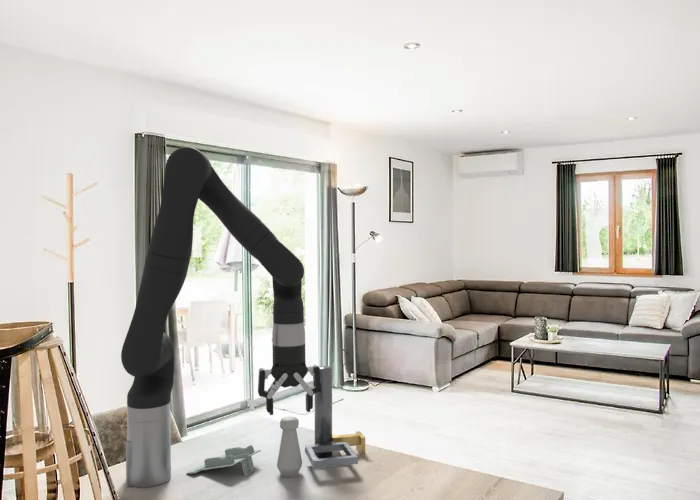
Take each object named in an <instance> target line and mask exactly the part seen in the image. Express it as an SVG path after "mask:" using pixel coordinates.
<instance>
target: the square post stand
mask: <svg viewBox="0 0 700 500" xmlns="http://www.w3.org/2000/svg"><path fill="white" fill-rule="evenodd" d="M317 366H318V367H319V369H320V383H321V391H320V392H317V393H315V394H314V444H309V445H304V446H305V447H304V452H305V455H306V456H307V458H308V460H309V462H310V464H311V466H312V469H320V468H321V469H322V468H329V467H330V468H331V467H338V466H339V467H340V466H349V465H357V464H359V456H358V455H357V454H356V452H355V451H354V449H353V448H352V447H354V446H355V449H356V450H357V451H358V452H359V454H360V456H365V455H366V436H365V435H364V434H363V433H362V431H360V430H358V431H355V433H350V434H347V433H346V434H339V435H333V367H332V366H329V365H317ZM341 451H342V452H343V453H345V455H344V456H343V454H342V453H341Z"/></svg>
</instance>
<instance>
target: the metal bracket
mask: <svg viewBox="0 0 700 500" xmlns="http://www.w3.org/2000/svg"><path fill="white" fill-rule="evenodd" d="M261 451H262V450H261V449H257V450H255V449H254V446H253V445H252V444H250V445H248V446H246V447H239V446H236V447H230V448H226V449H225V450H224V454H223V455H221V456H216V457H215V456H214V457H209V458H205V459H204V461H203V462H204V463H203V464H202V465H200V466H197V467H196V468H193V469H191V470H190V471H187V472H186V473H185V475H187V476H188V475H193V474H197V473H199V472H201V471H207V470H213V469H220V468H229V467H233V466H234V465H237V464H238V463H241V467H242V471H243V475H244V477H245V476H247V475H248V474H250V473H253V472H254V471H255V466H254V462H253V457H252V456H254V455H255V454H258V453H260V452H261Z"/></svg>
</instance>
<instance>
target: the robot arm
mask: <svg viewBox="0 0 700 500" xmlns="http://www.w3.org/2000/svg"><path fill="white" fill-rule="evenodd" d="M163 176H164V178H163V185H162V194H161V199H160V200H161V201H160V202H161V203H160V207H159V209H158V214H157V217H156V220H155V223H154V227H153V230H152V233H151V236H150V242H149V245H148V248H147V253H146V256H145V261H144V264H143V265H144V266H143V272H142V276H141V280H140V285H139V289H138V294H137V297H136V304H135V309H134V312H133V316H132V318H131V322H130V324H129V326H128V330H127V333H126V335H125V338H124V341H123V344H122V348H121V354H120V360H121V363H122V367H123V368H124V371H125V372H127V374H129V376H131V377H133V378H134V379H133V382H132V384H131V387H130V388H129V390H128V392H127V396H126V400H127V401H126V406H127V407H126V411H127V413H126V417H127V418H126V422H127V423H126V425H127V426H126V429H127V430H126V431H127V433H126V435H127V436H126V437H127V440H126V443H125V487H135V488H149V487H150V488H151V487H156V486H159V485H162V484H164V483H167V482H168V481H169V480H170V479H171V477H172V473H171V472H172V463H171V461H172V457H171V456H172V454H171V452H172V449H171V448H172V445H171V444H172V443H171V442H172V439H171V438H172V437H171V433H172V432H171V431H172V429H171V427H172V426H171V425H172V424H171V417H172V416H171V414H172V413H171V395H172V391H173V388H174V382H175V381H174V380H175V378H174V377H175V348H174V343H173V341H172V339H171V337H170V336H169V335H168V334H167V333H165V328H166V324H167V320H168V316H169V314H170V311H171V310H172V308H173V306H174V303H175V302H176V300H177V298H178V296H179V295H180V293H181V290H182V288H183V286H184V283H185V281H186V279H187V275H188V272H189V271H188V270H189V266H190V262H191V257H192V250H193V241H194V240H193V239H194V216H195V212H196V208H197V204H198V201H201V202H202V203H203V204H204V205H205V206H206V207H208V208H209V209H210V211H212V213H214V215H215V216H216V217H217V218H218V220H219V221H220V222H221V224H223V226H224V227H225V228H226V229H227V231H228V233H230V235H231V236H232V237H233V238H234V239H235V240H236V241H237V242H238V243H239V245H241V246H242V247H243V248H244V249H245V250H246V251H247V252H248V254H250V255H251V256H252V257H253V258H254V259H256V260H257V261H258V262H259V263H260V264H261V265H262V266H263V268H264V269H265V270H266V271H267V272H268V273H269V275H270V276H271V277H272V278H271V279H272V292H273V305H272V320H273V321H272V323H273V324H272V331H271V334H272V337H271V342H272V343H271V344H272V366H271V368H270V369H269V368H268V369H265V368H262V367H261V368H259V369H258V382H257V394H258V396H259V397H260V398H262V397H263V398H265V409H266V412H267V413H268V414H269V415H270V416H274V398H273V397H274V395H276V393H277V392H278V390H279V389H280V388H281V387H283V388H284V389H285V388H289V387H292V388H295V387H298V386H299V385H300V386H301V387H302V389H304V391H305V392H306V393H305V411H306V412H307V413H310V412H311V410H313V409H314V396H315V393H317V392H320V391H321V383H320V369H319V367H318V366H319V365H317V364H313V365H312V366H307V364H306V363H307V360H306V330H305V311H304V300H303V298H302V289H303V288H302V286H303V285H302V284H303V282H302V280H303V279H304V275H305V267H304V265H303V263H302V260H300V259H299V258H298V257H297V256H296V255H295V254H294V253H293V252H292V251H290V249H288V247H286V245H285V244H283V243H282V242H281V241H280V240H279V239H278V238H277V237H276V235H275V234H274V233H273V231H272V230H270V228H269V227H268V226H267V225H266V224H265V223H264V222H263V221H262V220H261V219H260V218H259V217H258V216H257V215H256V214H255V213H254V212H253V211H251V209H250V208H249V207H248V206H246V205H245V204H244V203H243V202H242V201H241V200H240V199H239V198H238V197H237V196H235V194H234V193H233V192H232V191H231V190H230V189H229V187H227V185H226V183H225V182H224V181H223V180H222V178H220V176H219V175H218V173H217V172H216V170H215V169H214V167H213V166H212V164H211V161H210V160H209V158H208V157H207V156H206V154H204V153H203V152H202V151H200V150H199V149H197V148H195V147H192V146H183V147H179V148H177V149H175V150H174V151H172V152H171V154H170V155H169V156H168V158H167V160H166V163H165V167H164V175H163ZM308 372H309V374H310V376H312V378H313V386H312V387H310V386H309V384H308V383H307V382H306V381H305V377H306V375H308ZM270 375H271V376H272V378H273V379H274V380H272V383H271V384H270V386H269V388H268V389H267V390H265V389H266V388H265V387H266V386H265V385H266V380H267V379H268V378H269V376H270Z"/></svg>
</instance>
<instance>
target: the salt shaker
mask: <svg viewBox="0 0 700 500" xmlns="http://www.w3.org/2000/svg"><path fill="white" fill-rule="evenodd" d="M299 424H300V421H299V419H298V418H297V417H295V416H289V415H288V416H285V417H282V418H281V419H280V422H279V427H280V430H282V431H281V437H280V442H279V443H280V445H279V450H278V457H277V463H276V467H277V469H278V471H279V473H280V476H281V477H283V478H287V479H288V478H294V477H297V476H298V474H299V472H300V471H301V469H302V466H303V459H302V453H301V448H300V447H301V446H300V442H299V437H298V432H297V429H298V428H299Z"/></svg>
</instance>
